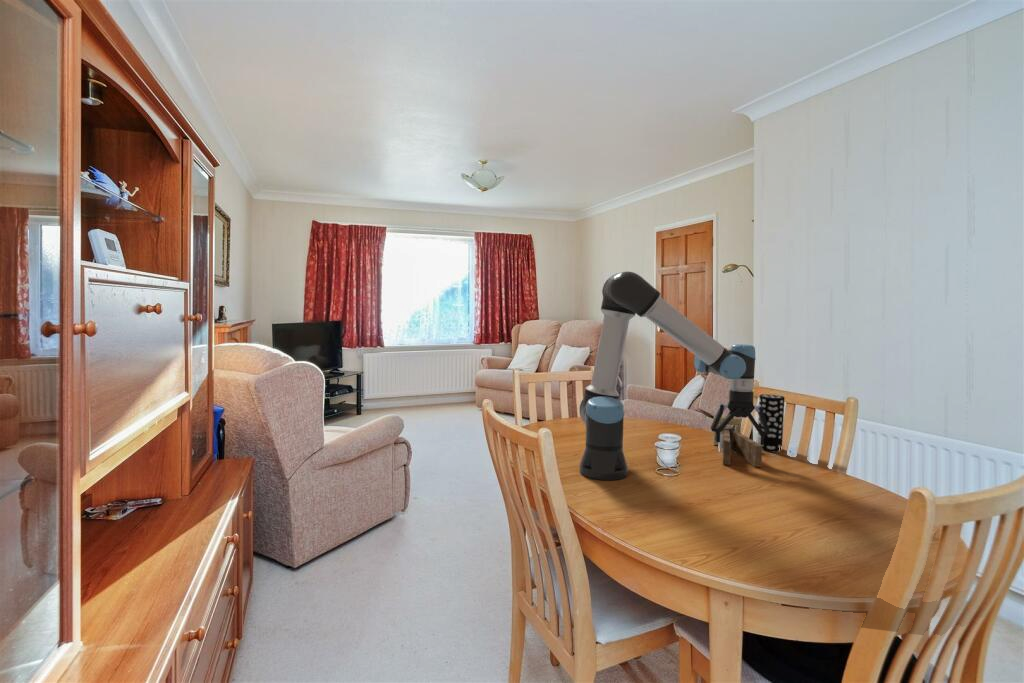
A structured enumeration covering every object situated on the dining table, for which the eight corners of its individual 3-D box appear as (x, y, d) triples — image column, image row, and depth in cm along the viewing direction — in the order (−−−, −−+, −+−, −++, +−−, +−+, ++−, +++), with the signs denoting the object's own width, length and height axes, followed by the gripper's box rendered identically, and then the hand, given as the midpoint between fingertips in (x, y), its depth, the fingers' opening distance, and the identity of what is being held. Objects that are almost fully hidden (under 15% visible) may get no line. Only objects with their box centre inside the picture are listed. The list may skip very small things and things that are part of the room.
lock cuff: (712, 442, 199) (713, 416, 199) (738, 444, 197) (739, 417, 197) (714, 444, 196) (715, 417, 196) (739, 446, 194) (741, 419, 194)
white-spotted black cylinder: (752, 447, 194) (754, 395, 193) (767, 444, 198) (769, 393, 196) (771, 453, 187) (774, 399, 185) (787, 450, 190) (789, 397, 189)
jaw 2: (730, 449, 190) (731, 430, 190) (736, 449, 190) (737, 431, 189) (754, 466, 170) (755, 446, 170) (761, 466, 170) (762, 446, 170)
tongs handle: (718, 442, 201) (718, 421, 201) (730, 442, 200) (730, 422, 200) (723, 449, 190) (724, 428, 190) (736, 450, 190) (737, 429, 189)
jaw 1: (722, 448, 191) (723, 430, 190) (728, 449, 190) (729, 430, 190) (722, 464, 173) (723, 443, 172) (729, 465, 172) (730, 444, 171)
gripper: (706, 390, 173) (704, 453, 175) (782, 393, 168) (779, 458, 170) (702, 386, 180) (700, 447, 182) (776, 389, 176) (773, 452, 177)
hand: (738, 452), depth 176 cm, fingers open, 11 cm apart
